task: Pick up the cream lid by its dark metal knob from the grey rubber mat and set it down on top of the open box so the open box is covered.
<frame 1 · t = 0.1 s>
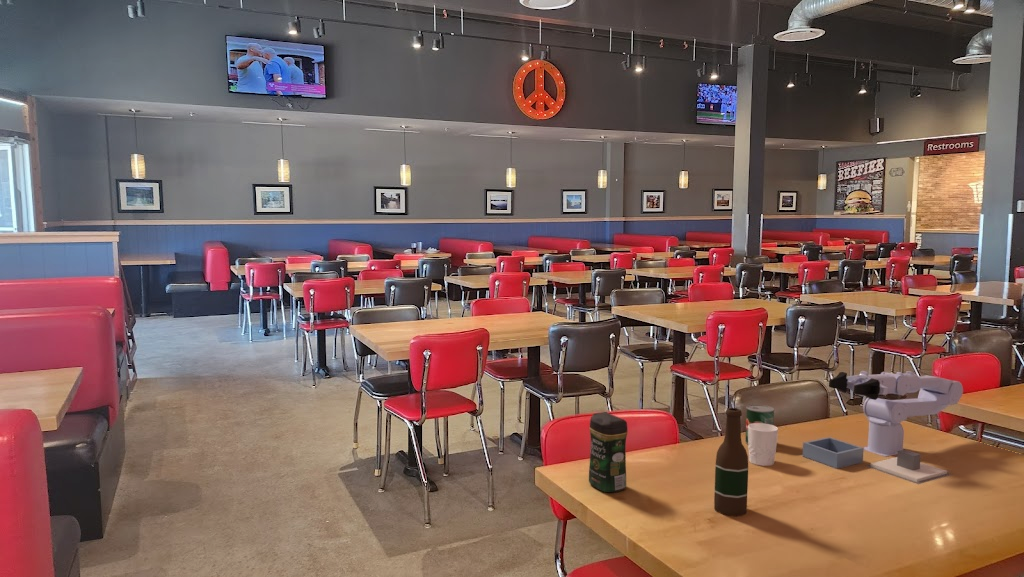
hand: (842, 386, 194), 22 cm above the table, tool horizontal, fingers open, 7 cm apart
lid: (908, 469, 190), resting on mat
white cup: (761, 462, 197), on the table
mat: (908, 471, 190), on the table
open box: (832, 460, 198), on the table
coffee jar: (607, 487, 178), on the table
beer bottle: (730, 510, 164), on the table
canned tomato: (758, 444, 213), on the table
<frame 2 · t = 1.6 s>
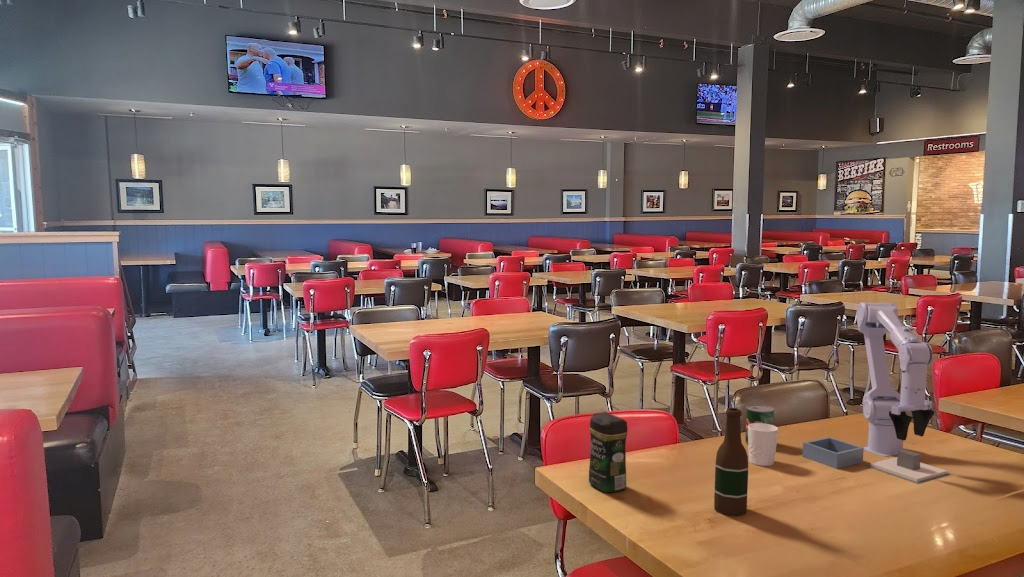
hand: (910, 437, 189), 9 cm above the table, tool pointing down, fingers open, 7 cm apart
nothing on the table moved.
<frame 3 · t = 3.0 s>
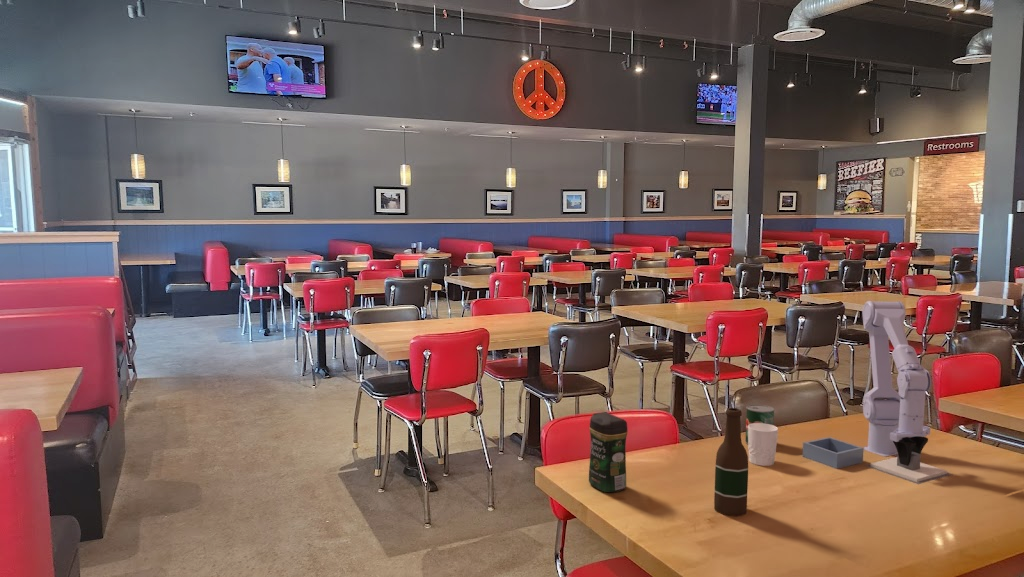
hand: (908, 463, 190), 2 cm above the table, tool pointing down, fingers closed on lid, 3 cm apart
lid: (908, 469, 190), resting on mat, touching gripper
everything else where it was.
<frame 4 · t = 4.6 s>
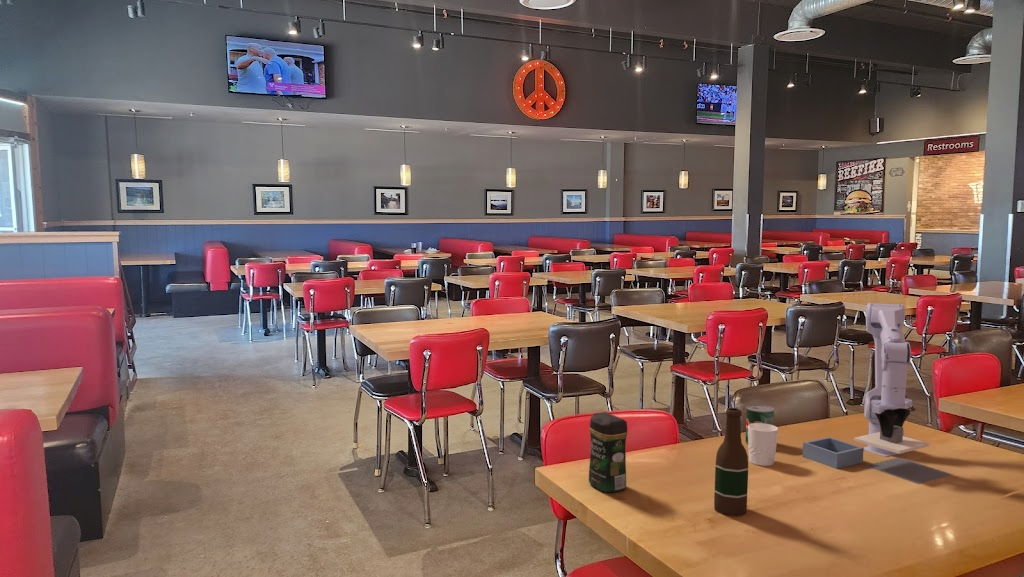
hand: (890, 435, 191), 9 cm above the table, tool pointing down, fingers closed on lid, 3 cm apart
lid: (890, 443, 191), point 7 cm above the table, touching gripper
everything else where it was.
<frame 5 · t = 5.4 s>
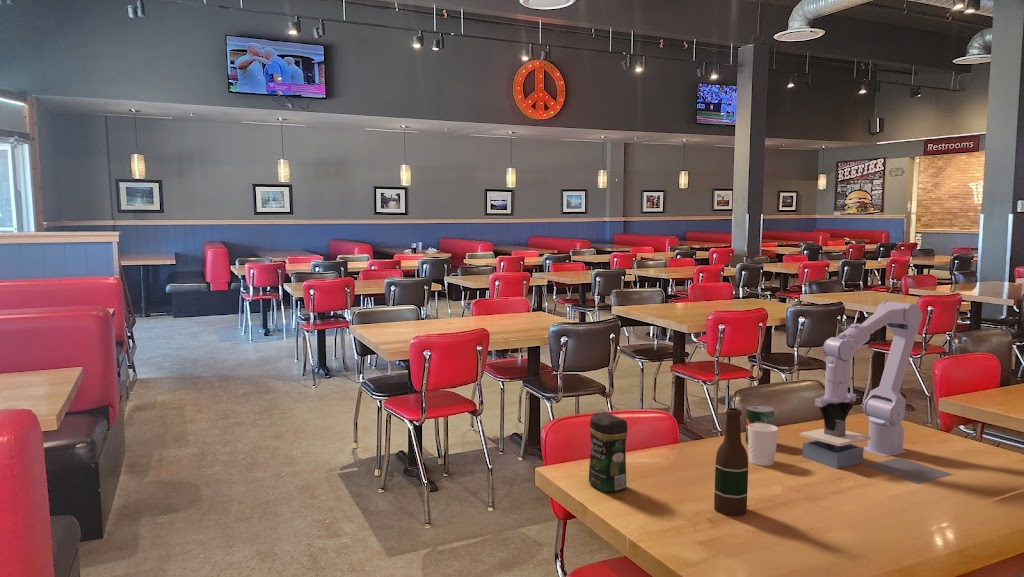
hand: (834, 428, 197), 9 cm above the table, tool pointing down, fingers closed on lid, 3 cm apart
lid: (834, 437, 197), point 7 cm above the table, touching gripper
everything else where it was.
when the fingers open (8 cm above the table, at t = 6.1 s): lid stays where it is, resting on open box.
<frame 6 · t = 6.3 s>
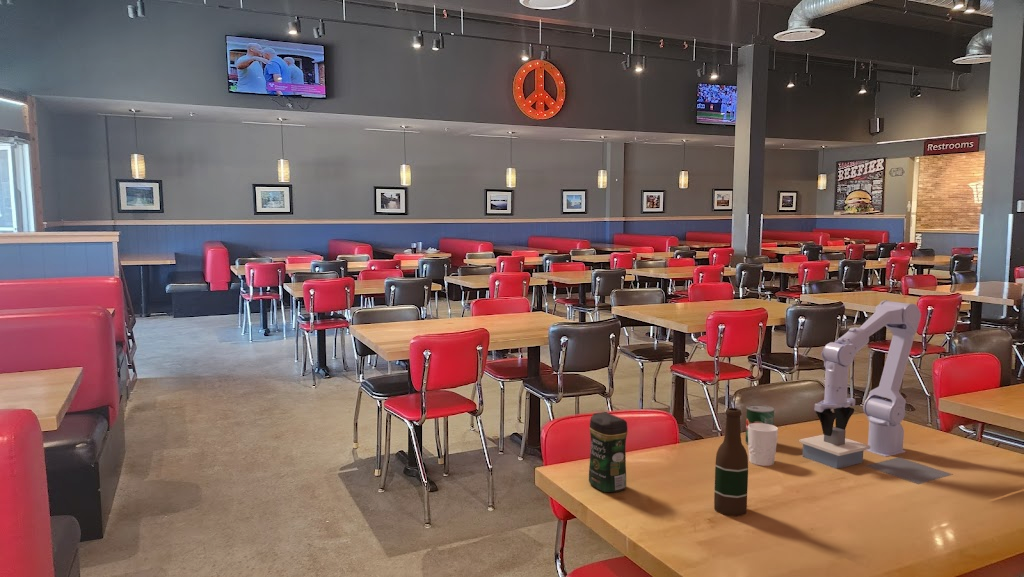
hand: (833, 433, 197), 8 cm above the table, tool pointing down, fingers open, 5 cm apart
lid: (834, 445, 197), point 4 cm above the table, touching open box
everything else where it was.
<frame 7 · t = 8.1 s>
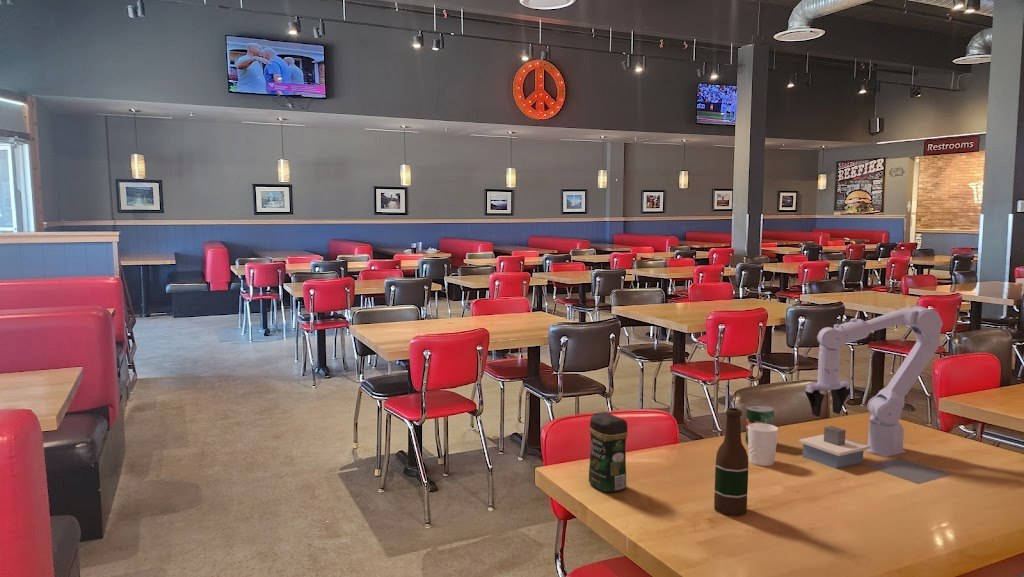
hand: (826, 414, 207), 10 cm above the table, tool pointing down, fingers open, 7 cm apart
nothing on the table moved.
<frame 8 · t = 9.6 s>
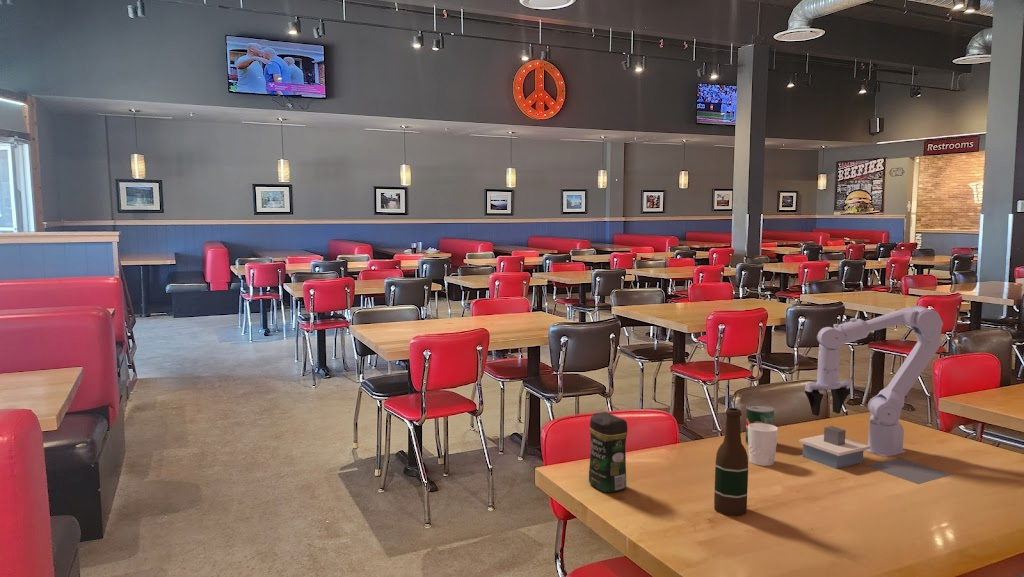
hand: (826, 413, 208), 10 cm above the table, tool pointing down, fingers open, 7 cm apart
nothing on the table moved.
at the end: lid 0.3 cm off-centre on the open box, point 4.5 cm above the open box's base; lid tilted 0°; the gripper is holding nothing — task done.
